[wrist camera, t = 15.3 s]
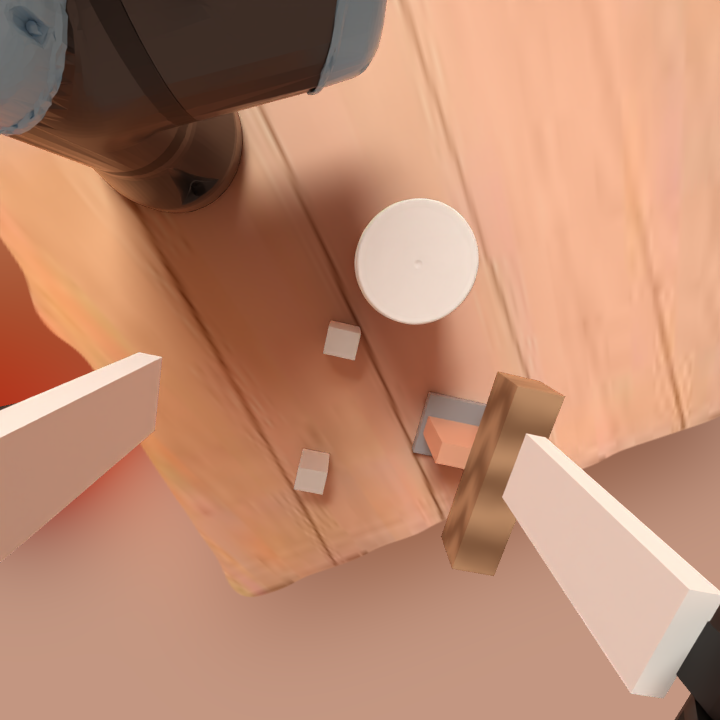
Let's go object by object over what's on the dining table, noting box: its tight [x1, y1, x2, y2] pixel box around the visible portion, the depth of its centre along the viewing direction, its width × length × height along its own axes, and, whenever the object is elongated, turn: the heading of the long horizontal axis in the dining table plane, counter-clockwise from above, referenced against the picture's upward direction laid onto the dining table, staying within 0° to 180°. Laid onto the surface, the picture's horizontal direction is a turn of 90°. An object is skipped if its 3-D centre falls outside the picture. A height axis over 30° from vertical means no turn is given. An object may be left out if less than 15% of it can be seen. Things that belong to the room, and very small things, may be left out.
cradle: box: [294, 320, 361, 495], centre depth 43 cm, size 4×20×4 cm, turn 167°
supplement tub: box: [354, 198, 479, 325], centre depth 34 cm, size 10×10×15 cm
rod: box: [441, 372, 565, 576], centre depth 37 cm, size 20×4×4 cm, turn 167°
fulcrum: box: [412, 392, 487, 469], centre depth 43 cm, size 12×8×8 cm, turn 77°
